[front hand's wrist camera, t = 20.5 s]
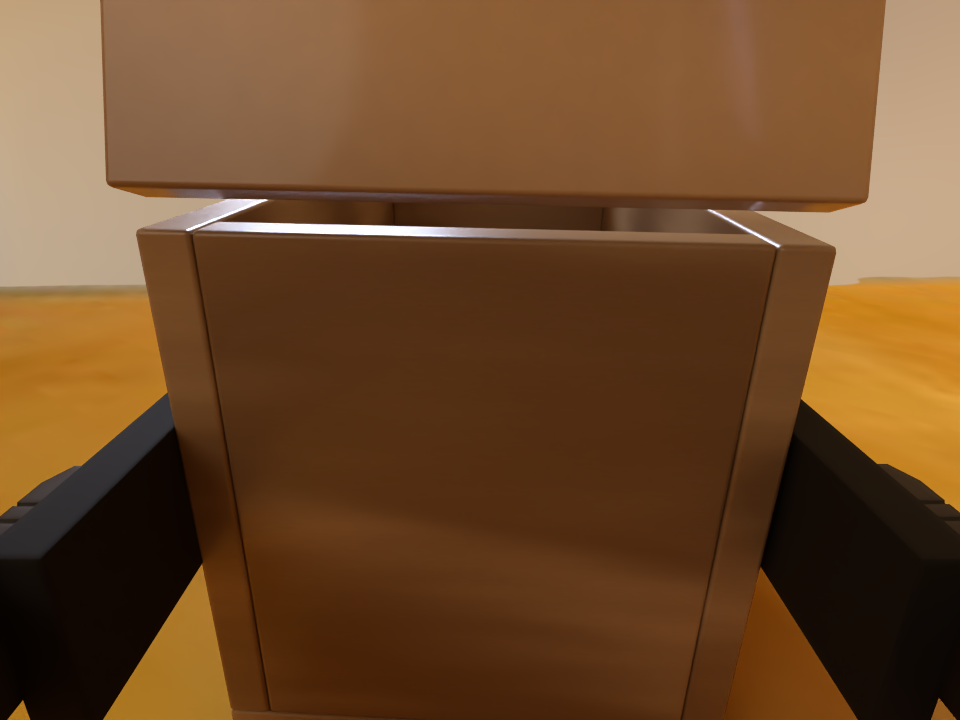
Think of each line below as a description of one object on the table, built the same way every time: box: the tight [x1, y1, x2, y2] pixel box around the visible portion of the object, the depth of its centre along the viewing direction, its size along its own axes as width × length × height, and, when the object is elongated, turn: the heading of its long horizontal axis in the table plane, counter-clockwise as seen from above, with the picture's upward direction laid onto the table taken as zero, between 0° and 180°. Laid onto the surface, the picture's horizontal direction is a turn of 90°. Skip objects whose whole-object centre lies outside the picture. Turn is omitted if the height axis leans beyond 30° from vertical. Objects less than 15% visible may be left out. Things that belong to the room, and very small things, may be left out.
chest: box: [136, 199, 836, 720], centre depth 18 cm, size 16×10×10 cm, turn 177°
